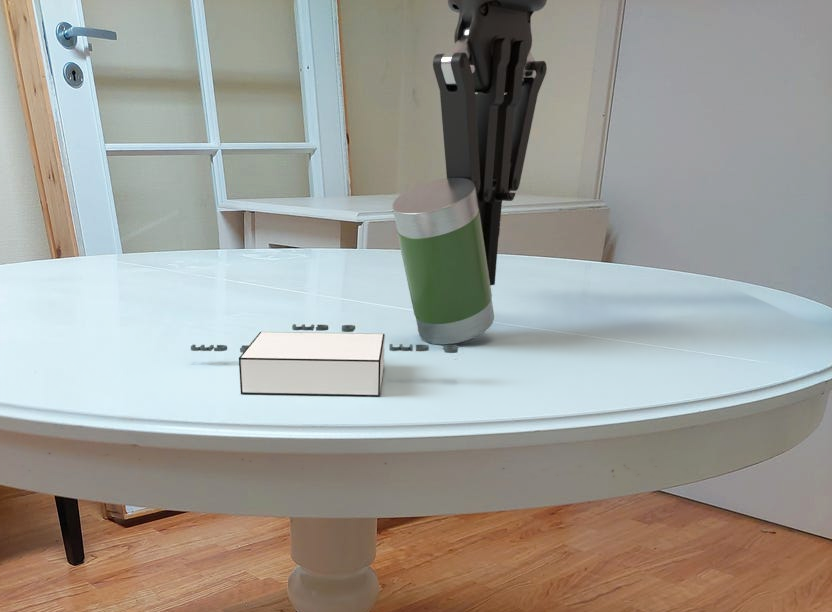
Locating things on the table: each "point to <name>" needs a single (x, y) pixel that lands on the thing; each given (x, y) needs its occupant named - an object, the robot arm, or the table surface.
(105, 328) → the table surface
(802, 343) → the table surface
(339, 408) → the table surface
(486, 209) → the robot arm
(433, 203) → the can
